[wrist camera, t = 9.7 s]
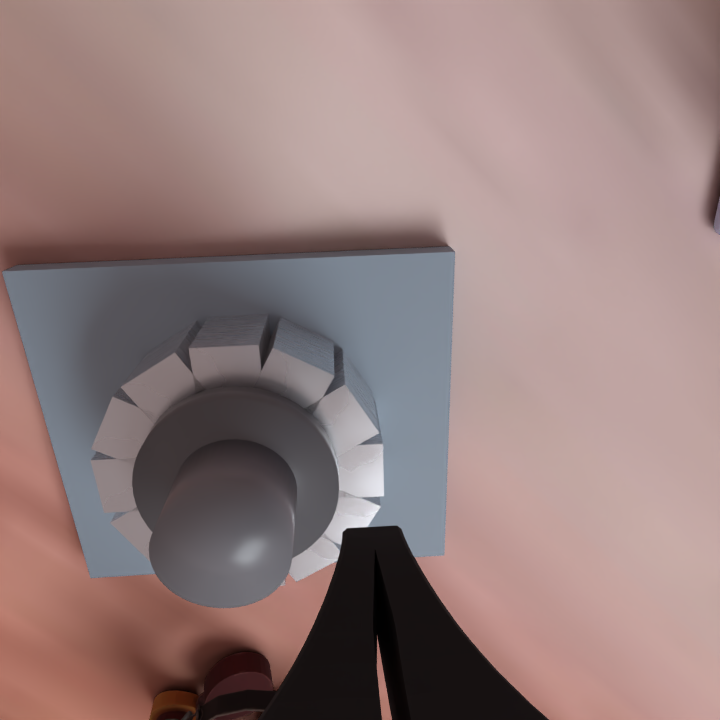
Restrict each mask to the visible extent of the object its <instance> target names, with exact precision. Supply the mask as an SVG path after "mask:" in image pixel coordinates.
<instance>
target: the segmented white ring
mask: <svg viewBox="0 0 720 720" xmlns="http://www.w3.org/2000/svg"><path fill="white" fill-rule="evenodd" d="M229 386H242V387H252V388H259V389H263V390H267V391H270V392H274V393H276V394H279V395H281V396H284V397H286V398H288V399H290V400H291V401H293V402H295V403H297V404H298V405H300V406H301V407H303V408H304V409H305V410H307V411H308V412H309V413H310V414H311V415H312V416H313V417H314V418H315V419H317V421H318V422H319V423H320V424H321V426H322V427H323V428H324V429H325V431H326V433H327V434H328V436H329V438H330V439H331V442H332V444H333V446H334V449H335V452H336V456H337V460H338V470H339V499H338V503H337V508H336V511H335V514H334V516H333V519H332V521H331V522H330V524H329V526H328V528H327V529H326V531H325V532H324V533H323V534H322V536H321V537H320V538H319V539H318V540H317V541H316V542H315V543H314V544H313V545H312V546H311V547H309V548H308V549H307V550H305V551H304V552H303V553H301V554H299V555H297V556H296V557H294V558H292V562H291V567H290V570H289V574H290V575H291V576H292V577H293V579H294V580H295V581H296V582H297V581H299V580H301V579H303V578H305V577H307V576H309V575H311V574H313V573H314V572H316V571H318V570H320V569H322V568H324V567H326V566H328V565H330V564H332V563H333V562H335V561H337V560H338V557H339V553H340V548H341V543H342V532H343V531H344V530H346V529H347V528H359V527H368V525H369V524H370V522H371V521H372V519H373V518H374V516H375V515H376V513H377V512H378V510H379V508H380V507H381V504H380V497H379V496H384V471H383V441H382V435H381V430H380V424H379V418H378V413H377V407H376V402H374V399H373V393H372V391H371V389H370V388H369V386H368V385H367V383H366V382H365V381H364V379H363V378H362V376H361V375H360V373H359V372H358V370H357V369H356V368H355V366H354V365H353V363H352V362H351V360H350V359H349V357H348V356H347V354H346V353H345V352H344V350H343V349H341V350H340V351H338V352H336V353H335V354H334V341H332V340H330V339H328V338H326V337H324V336H322V335H319V334H317V333H315V332H313V331H311V330H309V329H307V328H305V327H303V326H301V325H298V324H296V323H294V322H292V321H290V320H288V319H286V318H284V317H282V316H281V317H280V319H279V321H278V323H277V325H276V327H275V329H274V331H273V333H272V335H271V334H270V324H269V314H250V315H229V316H209V317H208V318H207V320H206V321H205V323H204V325H203V326H201V325H200V323H199V322H198V321H197V320H196V321H195V322H193V323H192V324H190V325H188V326H187V327H185V328H184V329H182V330H181V331H179V332H178V333H176V334H175V335H173V336H171V337H170V338H168V339H167V340H165V341H164V342H162V343H161V344H159V345H157V346H156V347H154V348H153V349H151V350H150V351H149V352H148V353H147V355H146V356H145V357H144V358H143V359H142V360H141V362H140V363H139V364H138V365H137V367H136V368H135V369H134V370H133V372H132V373H131V374H130V375H129V377H128V378H127V379H126V380H125V382H124V383H123V384H122V385H121V387H120V388H119V389H118V390H117V392H116V393H115V394H114V395H113V397H112V399H111V401H110V404H109V406H108V409H107V411H106V414H105V416H104V419H103V421H102V423H101V426H100V428H99V431H98V433H97V436H96V438H95V440H94V443H93V445H92V448H91V449H92V450H95V451H97V452H96V453H95V455H94V456H93V457H92V459H91V460H90V461H91V465H92V469H93V472H94V476H95V480H96V484H97V488H98V492H99V495H100V499H101V503H102V507H103V511H104V513H112V512H116V513H115V515H114V517H113V519H112V520H111V522H110V523H111V524H112V525H113V526H114V527H115V528H116V529H117V530H118V531H119V532H120V533H121V534H122V535H123V536H124V537H125V538H126V539H127V540H128V541H129V542H130V543H131V544H132V545H133V546H134V547H136V548H137V549H138V550H139V551H140V552H141V553H142V554H143V555H144V556H145V557H146V558H147V559H148V560H149V561H150V558H149V542H150V538H151V535H152V533H153V532H152V531H151V530H150V529H149V528H148V526H147V525H146V523H145V522H144V520H143V519H142V517H141V515H140V513H139V511H138V508H137V506H136V503H135V499H134V495H133V488H132V474H133V468H134V463H135V460H136V457H137V455H138V452H139V450H140V448H141V446H142V445H143V443H144V441H145V439H146V438H147V436H148V434H149V433H150V431H151V429H152V428H153V426H154V424H155V423H156V422H157V421H158V419H159V418H160V417H161V416H162V415H163V414H164V413H165V412H166V411H167V410H168V409H169V408H171V407H172V406H173V405H175V404H176V403H178V402H179V401H181V400H183V399H185V398H187V397H189V396H191V395H193V394H196V393H199V392H202V391H204V390H208V389H213V388H218V387H229ZM285 582H286V578H285V580H284V581H283V583H282V584H281V585H285Z"/></svg>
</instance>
